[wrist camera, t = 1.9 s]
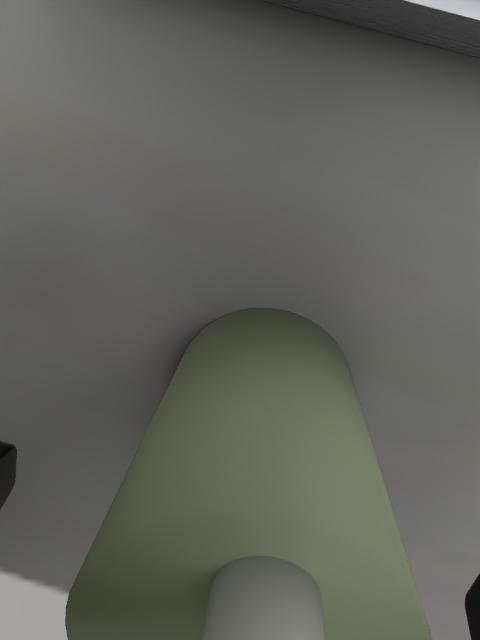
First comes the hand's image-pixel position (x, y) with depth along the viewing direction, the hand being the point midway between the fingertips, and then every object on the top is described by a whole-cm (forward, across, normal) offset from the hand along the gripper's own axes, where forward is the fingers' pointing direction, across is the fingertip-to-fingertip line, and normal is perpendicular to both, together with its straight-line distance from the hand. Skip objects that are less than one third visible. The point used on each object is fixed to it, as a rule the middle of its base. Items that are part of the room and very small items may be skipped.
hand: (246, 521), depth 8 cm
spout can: (+5, 0, 0) cm, 5 cm away
